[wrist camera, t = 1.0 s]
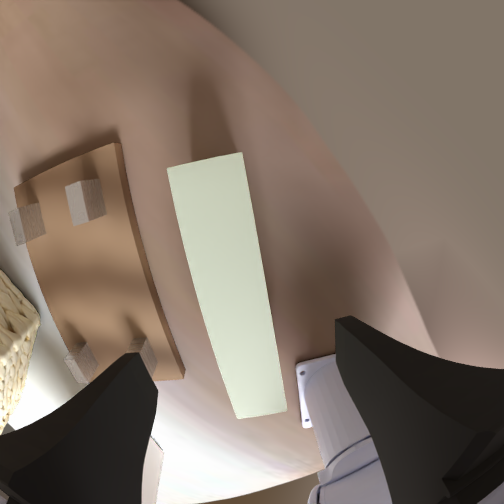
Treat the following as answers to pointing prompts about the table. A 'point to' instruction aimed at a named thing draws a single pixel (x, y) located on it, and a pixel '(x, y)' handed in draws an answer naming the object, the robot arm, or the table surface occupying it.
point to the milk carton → (151, 472)
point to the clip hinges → (82, 210)
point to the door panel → (229, 279)
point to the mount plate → (97, 265)
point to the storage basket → (14, 344)
